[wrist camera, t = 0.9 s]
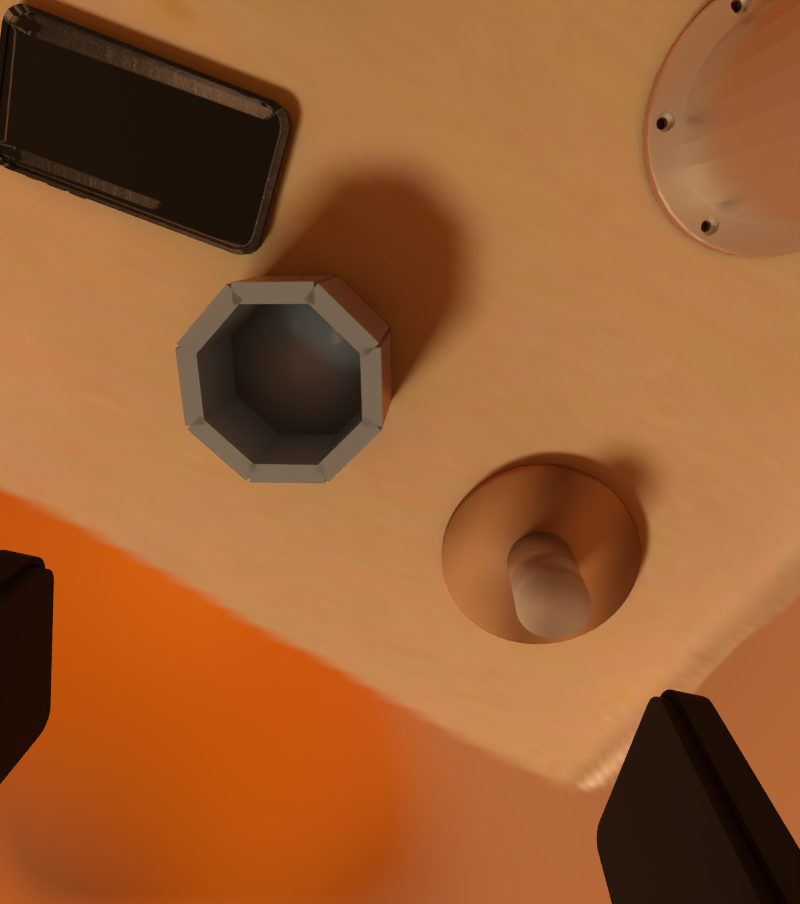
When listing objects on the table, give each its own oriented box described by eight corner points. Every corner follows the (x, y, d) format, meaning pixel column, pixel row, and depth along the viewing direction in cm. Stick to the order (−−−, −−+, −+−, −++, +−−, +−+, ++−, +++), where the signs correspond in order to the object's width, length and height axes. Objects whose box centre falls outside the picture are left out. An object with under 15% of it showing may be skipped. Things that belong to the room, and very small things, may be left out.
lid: (645, 463, 37) (683, 505, 31) (624, 635, 41) (654, 701, 35) (442, 461, 38) (442, 502, 32) (441, 630, 42) (440, 694, 36)
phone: (5, -4, 31) (294, 108, 31) (19, 4, 32) (299, 113, 32) (-15, 162, 33) (253, 263, 34) (-1, 165, 34) (259, 262, 35)
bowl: (390, 274, 34) (379, 281, 29) (393, 447, 37) (383, 483, 32) (212, 275, 35) (167, 282, 29) (229, 445, 38) (192, 481, 32)
